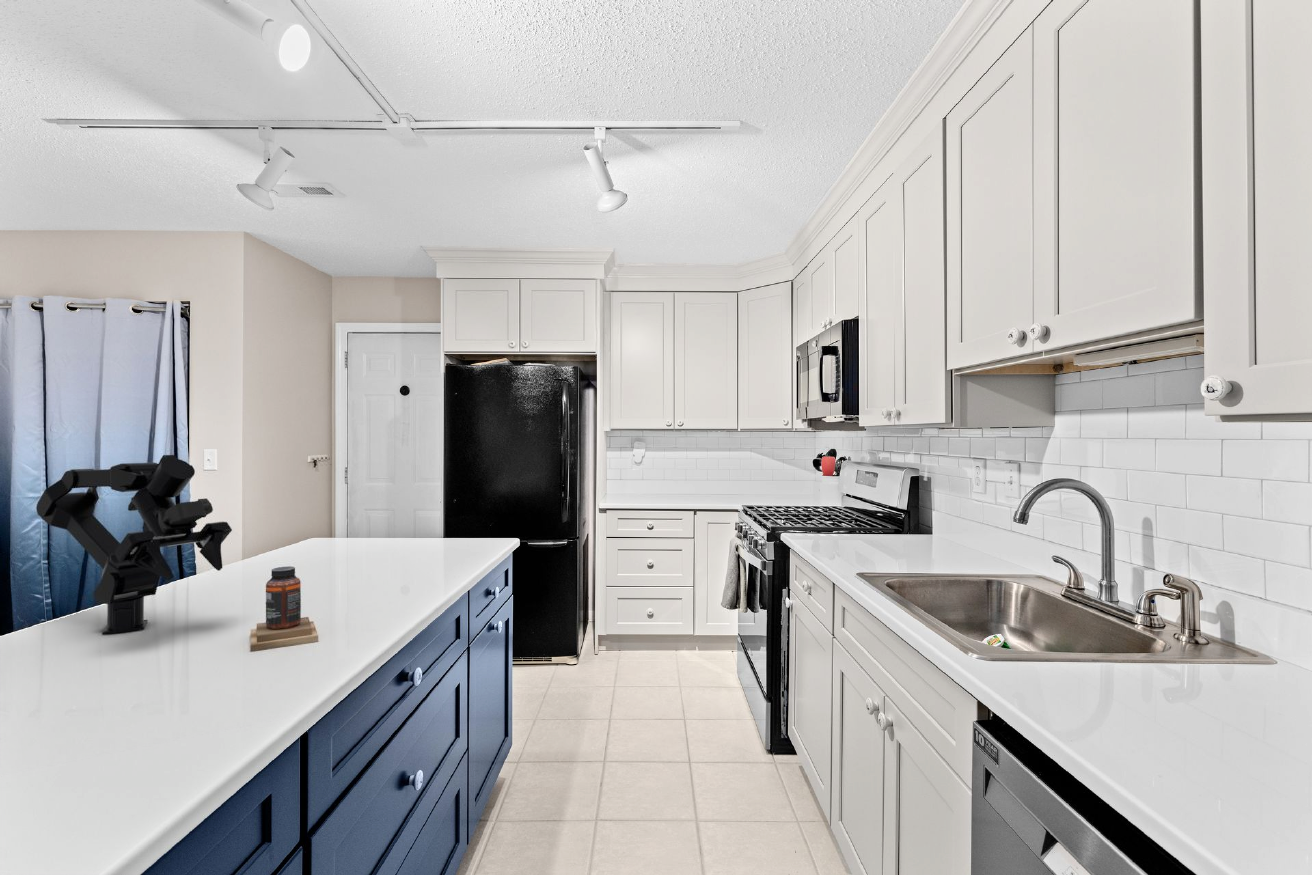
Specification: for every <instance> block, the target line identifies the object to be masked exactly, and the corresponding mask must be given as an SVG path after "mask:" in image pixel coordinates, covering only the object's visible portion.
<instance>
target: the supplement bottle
mask: <svg viewBox="0 0 1312 875" xmlns="http://www.w3.org/2000/svg"><path fill="white" fill-rule="evenodd" d="M270 576H271V578H270V579H269V580H268V581H266V584H265V622H266V627H267V628H270V629H284V628H290V627H293V626H296V625H298V624H299V623H300V621H301V618H302V612H301V611H302V610H301V609H302V608H301V607H302V603H301V602H302V601H301V600H302V596H301V594H302V593H301V592H302V591H301V589H302V588H301V586H302V585H301V583H302V582H301V579H300V578H299V577H298V576H296V567H295V566H291V565H290V566H279V567H275V568H272V569H271V575H270Z"/></svg>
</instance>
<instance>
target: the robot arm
mask: <svg viewBox="0 0 1312 875" xmlns="http://www.w3.org/2000/svg"><path fill="white" fill-rule="evenodd" d="M195 472H196V471H195V468H194V467H193V465H192V464H189V463H188V462H187V461H185V460H183V459H180V458H177V457H176V455H175V454H164V455H162V457H161V458H160V460H159V462H158V463H157V462H130V463H129V462H126V463H118V464H116V465H115V464H114V465H112V466H110V468H109V469H94V468H80V469H79V468H76V469H75V468H74V469H70V470H66V471H65V472H64V473H63V475H62V477H61V478H60V479H59V480H58V481H56V482H55V483H53V484H52V485H50V486H48V487H47V488H45V490H44V491H43V493H42V494H41V496H40V498H39V500H38V502H37V504H36V508H35V509H36V513H37V515H38V516H39V517H40V518H41V520H43V521H44V522H45V523H47V524H48V525H49V526H52V527H54V528H59V529H60V530H61V529H62V530H66V531H68V533H70V535H71V536H72V537H73V538H74V539H75V540H76V541H77V543H78V544H79V545H81V546H80V547H82V548H83V549H84V550H85V551H86V552H87V553H88V554H89V555H90V556H91V558H93V560H94V561H95V563H96V564H98V565H99V567H101V568H102V571H101V572H102V573H101V578H100V582H99V584H97V586H96V588H95V589H94V590H93V599H94V602H95V603H99V604H105V605H107V607H106V608H107V615H106V616H107V617H106V618H107V619H106V620H107V624H106V626H105V627H104V629H103V630H102V631H101V634H102V635H107V634H108V635H109V634H116V633H123V632H124V633H125V632H132V631H141V630H145V628H146V626H147V624H148V621H149V620H148V619H144V617H145V615H144V614H145V610H144V608H145V605H144V604H145V597H148V596H154V595H155V596H156V593H157V590H158V586H159V582H160V579H161V578H163V579H165V580H167V581H172V580H173V578H174V577H175V576H174V573H173V571H172V569H171V567H170V566H169V564H168V563H167V561H166V559H165V558H164V556H163V554H162V551H161V548H163V547H168V548H169V547H174V546H181V545H186V544H187V545H188V544H194V543H195V545H196V546H197V548H199V549H200V550H199V553H200V554H201V555H202V557H203V558H204V559H205V560H206V561H207V562H208V563H209V564H210V565H211V566H212V567H213V569H216V570H217V571H218V572H219V571H221V570H222V569H223V558H222V544H223V542H224V541H225V539H227V537H228V536H229V535H230V533H232V532H233V529H232V527H231V526H230V525H229V523H228V522H227V521H215V522H208V523H206V524H204V525H203V527H202V529H201V530H200V531H193V532H192V529H195V528H196V526H197V525H198V522H197V521H199V520H201V519H202V518H206V517H207V515H210V514H211V513H213V511H214V508H213V504H212V503H211V502H210V500H209V499H208V498H206V497H204V498H198V499H197V500H193V501H184V502H178V503H176V504H175V502H174V500H173V498H175V497H177V496H179V495H181V493H182V492H183V491H184V489H185V487H186V486H187V485H188V484H189V482H190V481H191V480H192V478H193V477H194V476H195ZM100 487H102V488H103V487H105V488H106V487H109V488H110V489H111V490H112V491H116V492H119V493H129V492H130V493H131V492H136V493H135V494H134V495H133V496H131V498H130V502H129V503H128V505H127V506H128V507H127V510H128V511H129V512H133V511H137V512H138V514H139V515H140V517H141V519H142V520H143V523H144V524H143V525H142V527H141V528H142V531H135V532H134V531H133V532H128V533H127V534H126V535H125V537H124V538H123V539H122V540H121V542H119V541H118V539H116V537H114V535H113V534H112V533H111V532H110V531H109V530H108V528H106V527H105V525H103V524H102V523H101V521H100V520H98V518H97V517H95V515H94V513H95V509H96V504H97V502H98V501H99V499H100V496H99V494H98V491H97V488H100ZM83 488H84V489H85V488H88V489H87V490H86V492H85V491H83V492H82V491H81V492H80V491H79V492H72V490H73V489H83Z"/></svg>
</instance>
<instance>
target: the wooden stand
mask: <svg viewBox="0 0 1312 875" xmlns="http://www.w3.org/2000/svg"><path fill="white" fill-rule="evenodd" d="M317 642H319V634H318V630H317V628H316V625H315V622H314V621H310V618H309V616H303V617H301V621H300V623H299V624H298V625H296V626H293V627H290V628H284V629H270V628H267V627H266V621H265V622H258V623H256V628H252V629H250V652H251V653H252V652H256V651H264V650H270V649H271V650H272V649H277V648H283V647H291V646H292V647H293V646H297V645H303V644H311V643H317Z"/></svg>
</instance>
